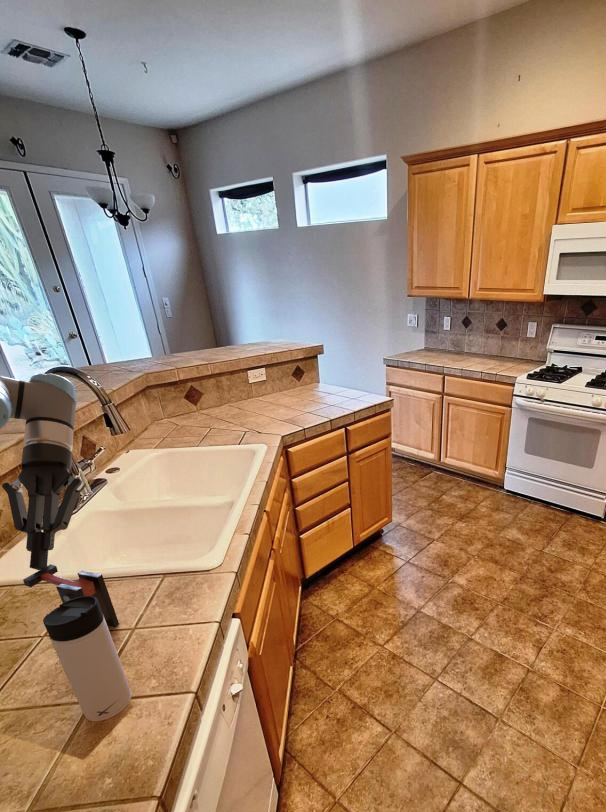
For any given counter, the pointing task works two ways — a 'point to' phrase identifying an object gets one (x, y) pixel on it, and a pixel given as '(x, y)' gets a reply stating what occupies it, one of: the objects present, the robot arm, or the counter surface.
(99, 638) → the travel mug
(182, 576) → the counter surface
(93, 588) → the lever
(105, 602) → the bracket
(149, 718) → the counter surface
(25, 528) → the robot arm
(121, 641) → the counter surface
